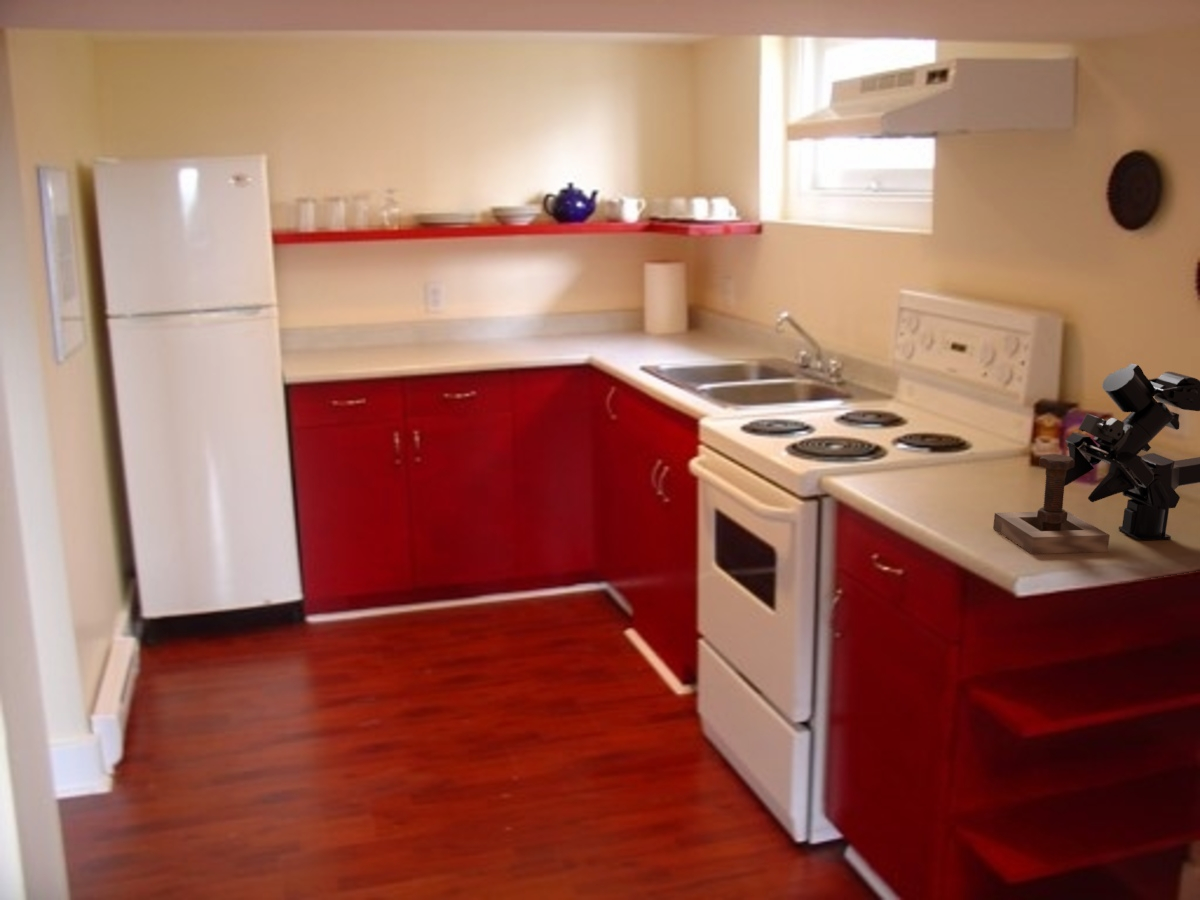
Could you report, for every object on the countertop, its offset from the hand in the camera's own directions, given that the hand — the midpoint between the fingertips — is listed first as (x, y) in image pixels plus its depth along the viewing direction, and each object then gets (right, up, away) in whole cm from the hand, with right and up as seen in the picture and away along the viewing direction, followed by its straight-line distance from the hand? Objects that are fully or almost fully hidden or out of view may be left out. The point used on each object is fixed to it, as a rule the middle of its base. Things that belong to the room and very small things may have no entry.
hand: (1074, 492), depth 203 cm
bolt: (-4, -8, +1) cm, 9 cm away
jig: (-4, -8, +1) cm, 9 cm away
